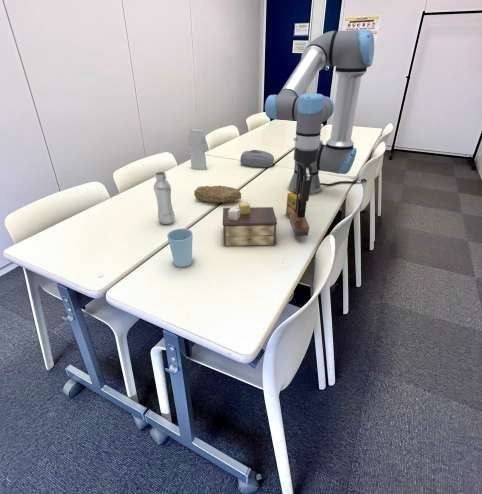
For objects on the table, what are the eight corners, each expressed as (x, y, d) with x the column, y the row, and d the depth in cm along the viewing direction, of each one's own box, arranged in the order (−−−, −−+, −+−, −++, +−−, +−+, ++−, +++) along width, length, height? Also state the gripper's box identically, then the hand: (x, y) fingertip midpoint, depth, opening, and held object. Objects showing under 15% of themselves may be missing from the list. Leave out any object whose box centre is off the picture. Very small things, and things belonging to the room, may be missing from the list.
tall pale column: (189, 168, 187) (185, 129, 176) (192, 166, 190) (189, 127, 179) (205, 170, 184) (202, 130, 172) (208, 168, 187) (206, 129, 175)
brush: (302, 221, 121) (306, 188, 114) (308, 236, 112) (312, 200, 105) (289, 221, 121) (292, 188, 114) (294, 236, 112) (297, 200, 105)
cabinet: (271, 228, 123) (272, 207, 118) (276, 246, 111) (277, 223, 107) (223, 229, 123) (223, 207, 118) (223, 247, 111) (222, 224, 106)
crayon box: (285, 215, 133) (287, 188, 127) (291, 213, 134) (293, 187, 128) (294, 222, 127) (297, 194, 121) (301, 221, 128) (304, 193, 122)
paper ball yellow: (247, 209, 117) (247, 201, 115) (250, 213, 114) (250, 205, 112) (238, 210, 116) (238, 202, 114) (241, 214, 113) (241, 206, 111)
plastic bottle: (161, 227, 124) (154, 177, 114) (156, 220, 129) (149, 172, 119) (177, 223, 127) (171, 174, 116) (172, 217, 132) (166, 169, 121)
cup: (166, 261, 104) (162, 233, 98) (186, 253, 108) (183, 226, 102) (178, 272, 99) (175, 243, 93) (199, 263, 103) (197, 235, 98)
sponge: (193, 204, 145) (229, 204, 135) (190, 187, 143) (228, 186, 133) (210, 200, 156) (245, 199, 146) (208, 183, 154) (244, 182, 144)
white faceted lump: (240, 216, 112) (240, 208, 110) (237, 220, 109) (237, 212, 107) (231, 215, 113) (231, 206, 111) (227, 219, 110) (227, 210, 108)
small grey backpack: (238, 166, 190) (270, 170, 184) (237, 152, 185) (271, 155, 179) (246, 159, 202) (277, 162, 196) (246, 146, 197) (277, 148, 192)
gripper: (290, 142, 108) (286, 206, 120) (299, 155, 95) (293, 225, 107) (312, 141, 108) (306, 205, 120) (324, 154, 95) (315, 225, 107)
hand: (299, 214), depth 114 cm, fingers closed on brush, 2 cm apart
